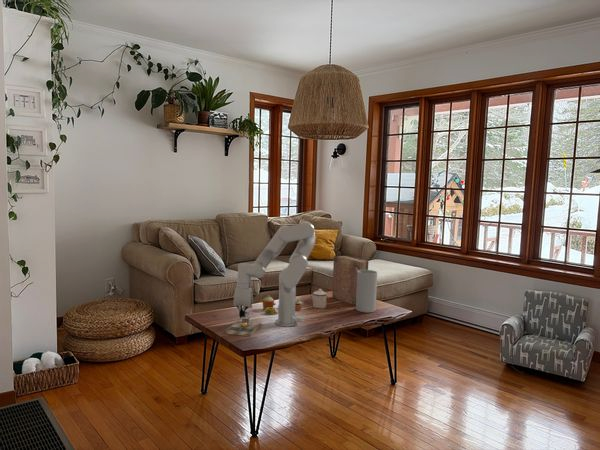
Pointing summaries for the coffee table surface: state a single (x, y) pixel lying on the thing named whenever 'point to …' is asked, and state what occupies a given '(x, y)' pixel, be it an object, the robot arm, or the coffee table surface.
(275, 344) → the coffee table surface
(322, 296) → the teacup with lid
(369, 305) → the cylinder vase
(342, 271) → the book
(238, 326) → the stand
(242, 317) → the ball-knob lever handle
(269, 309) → the toy tea set
